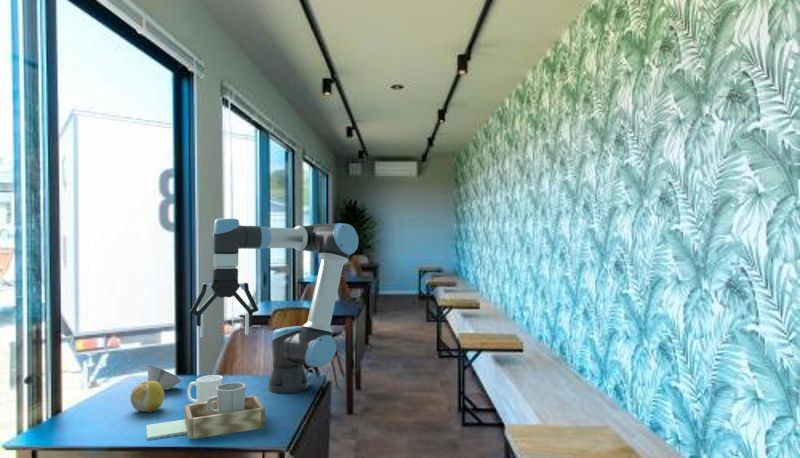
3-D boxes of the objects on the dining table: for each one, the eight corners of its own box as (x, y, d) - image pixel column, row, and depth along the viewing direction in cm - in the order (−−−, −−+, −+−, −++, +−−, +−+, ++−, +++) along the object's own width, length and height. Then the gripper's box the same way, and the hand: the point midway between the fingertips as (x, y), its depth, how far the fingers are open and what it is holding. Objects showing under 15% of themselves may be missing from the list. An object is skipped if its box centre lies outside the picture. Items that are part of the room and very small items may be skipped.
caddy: (255, 413, 179) (255, 395, 179) (265, 428, 165) (264, 408, 165) (184, 424, 169) (184, 405, 169) (188, 441, 156) (188, 419, 156)
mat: (185, 423, 171) (185, 419, 171) (188, 435, 161) (188, 430, 161) (146, 429, 166) (146, 425, 166) (146, 441, 156) (146, 437, 156)
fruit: (146, 405, 188) (146, 376, 188) (171, 408, 185) (171, 378, 185) (122, 414, 179) (122, 384, 179) (148, 418, 175) (148, 387, 175)
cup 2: (225, 434, 161) (224, 393, 161) (204, 428, 166) (204, 389, 166) (252, 423, 170) (251, 384, 170) (232, 418, 174) (231, 380, 174)
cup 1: (216, 412, 180) (216, 381, 180) (181, 412, 181) (181, 381, 181) (226, 404, 188) (226, 375, 188) (192, 404, 189) (192, 374, 189)
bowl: (180, 396, 207) (187, 383, 209) (161, 382, 197) (169, 370, 199) (154, 387, 211) (161, 376, 214) (134, 374, 201) (142, 362, 204)
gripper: (264, 266, 181) (262, 331, 180) (182, 267, 171) (181, 335, 170) (268, 267, 174) (266, 335, 173) (183, 268, 164) (182, 339, 164)
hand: (224, 335), depth 172 cm, fingers open, 13 cm apart
